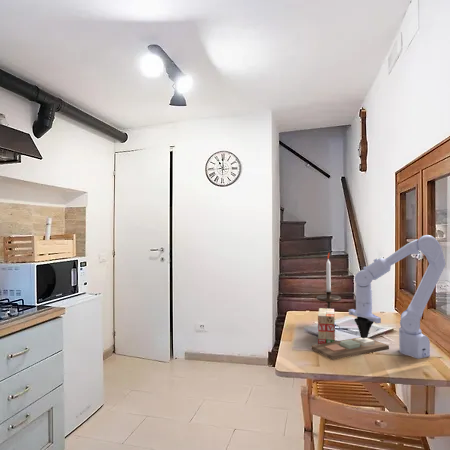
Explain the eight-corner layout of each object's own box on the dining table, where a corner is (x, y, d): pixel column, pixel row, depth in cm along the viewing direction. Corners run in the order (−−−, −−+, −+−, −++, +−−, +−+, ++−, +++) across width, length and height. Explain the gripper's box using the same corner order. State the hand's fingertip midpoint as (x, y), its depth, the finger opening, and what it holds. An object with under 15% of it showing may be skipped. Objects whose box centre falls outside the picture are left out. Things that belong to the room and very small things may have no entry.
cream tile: (374, 347, 137) (374, 340, 137) (364, 349, 135) (364, 342, 135) (364, 343, 142) (364, 337, 142) (354, 345, 140) (354, 338, 140)
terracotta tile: (345, 355, 132) (345, 348, 132) (334, 357, 130) (334, 350, 130) (335, 350, 136) (335, 344, 136) (325, 352, 135) (324, 346, 135)
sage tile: (360, 349, 135) (360, 343, 135) (349, 351, 133) (349, 345, 133) (350, 345, 139) (350, 339, 139) (340, 347, 137) (340, 341, 137)
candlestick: (344, 331, 161) (343, 252, 161) (320, 332, 161) (319, 253, 161) (337, 324, 172) (336, 251, 172) (314, 325, 172) (313, 251, 172)
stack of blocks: (320, 330, 162) (319, 303, 162) (334, 331, 160) (334, 303, 160) (318, 346, 142) (317, 314, 142) (334, 347, 140) (334, 315, 140)
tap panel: (388, 352, 135) (388, 345, 135) (332, 363, 125) (332, 356, 125) (364, 342, 147) (364, 336, 147) (311, 352, 136) (311, 345, 136)
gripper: (342, 299, 144) (342, 333, 144) (370, 306, 130) (370, 344, 130) (356, 297, 146) (356, 331, 147) (385, 305, 133) (385, 342, 133)
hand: (364, 337), depth 139 cm, fingers closed
